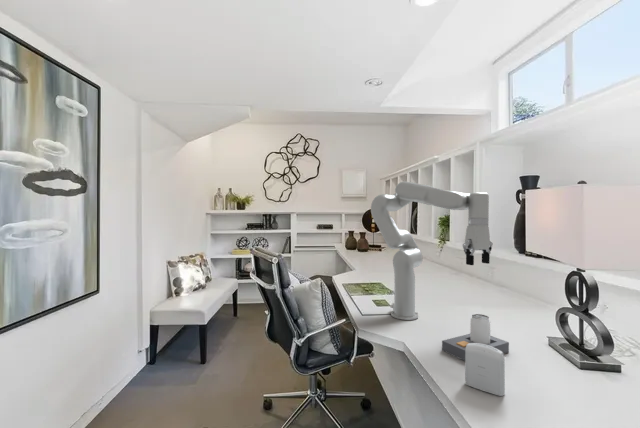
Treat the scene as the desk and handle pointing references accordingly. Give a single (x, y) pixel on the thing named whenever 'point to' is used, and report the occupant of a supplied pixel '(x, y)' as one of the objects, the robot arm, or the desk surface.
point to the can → (480, 329)
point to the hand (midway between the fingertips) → (477, 264)
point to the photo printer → (485, 368)
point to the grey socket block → (459, 343)
